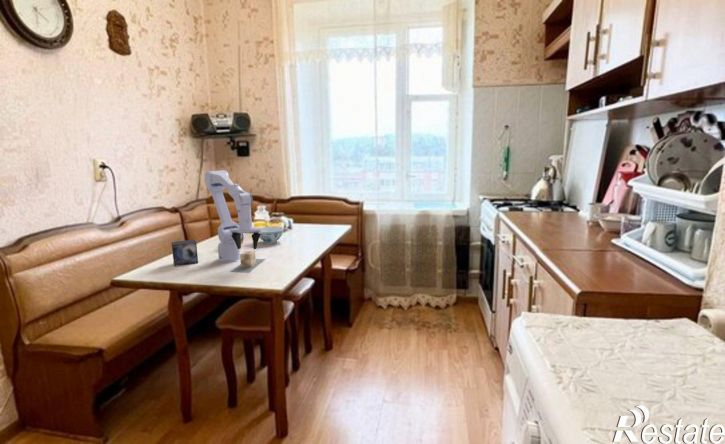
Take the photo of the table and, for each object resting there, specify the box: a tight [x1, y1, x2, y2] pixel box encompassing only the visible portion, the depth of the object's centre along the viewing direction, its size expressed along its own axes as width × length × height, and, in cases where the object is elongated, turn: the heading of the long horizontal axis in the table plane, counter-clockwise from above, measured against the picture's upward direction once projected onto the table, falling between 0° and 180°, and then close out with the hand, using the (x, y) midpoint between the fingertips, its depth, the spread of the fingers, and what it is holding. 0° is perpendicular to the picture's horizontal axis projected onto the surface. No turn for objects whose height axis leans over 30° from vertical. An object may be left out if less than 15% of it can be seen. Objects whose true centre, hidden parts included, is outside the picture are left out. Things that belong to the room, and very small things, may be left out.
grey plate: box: [229, 258, 267, 274], centre depth 184 cm, size 9×20×1 cm, turn 173°
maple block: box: [240, 250, 257, 267], centre depth 183 cm, size 5×5×6 cm
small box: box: [171, 239, 199, 267], centre depth 189 cm, size 11×6×10 cm, turn 117°
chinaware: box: [257, 225, 284, 245], centre depth 226 cm, size 15×15×8 cm
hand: (247, 248), depth 182 cm, fingers open, 7 cm apart
